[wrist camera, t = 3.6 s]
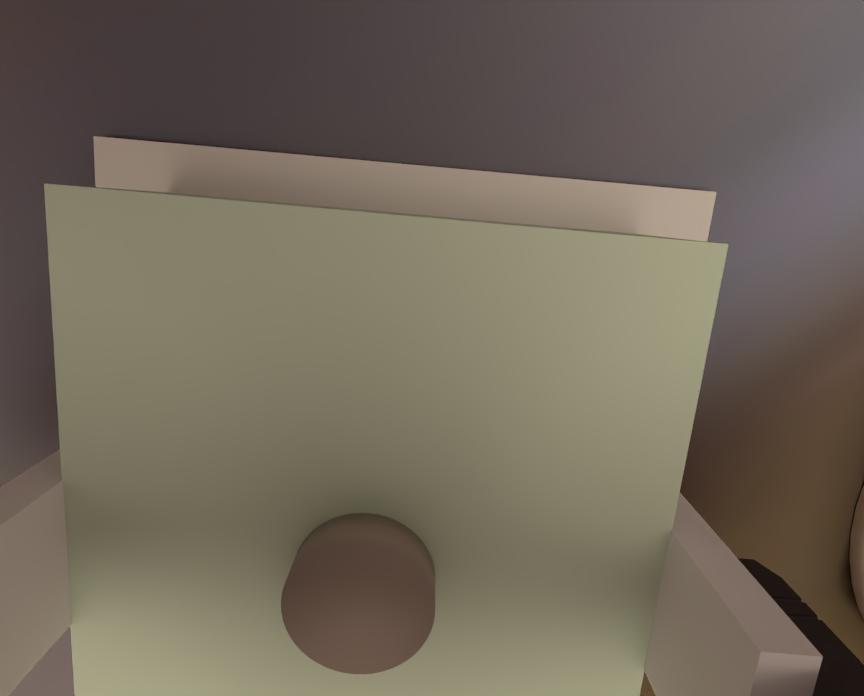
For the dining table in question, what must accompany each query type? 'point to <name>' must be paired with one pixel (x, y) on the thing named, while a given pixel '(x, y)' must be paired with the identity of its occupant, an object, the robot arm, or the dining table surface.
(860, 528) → the bowl
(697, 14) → the dining table surface
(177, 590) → the lid
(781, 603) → the robot arm
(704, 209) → the mat
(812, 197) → the dining table surface
